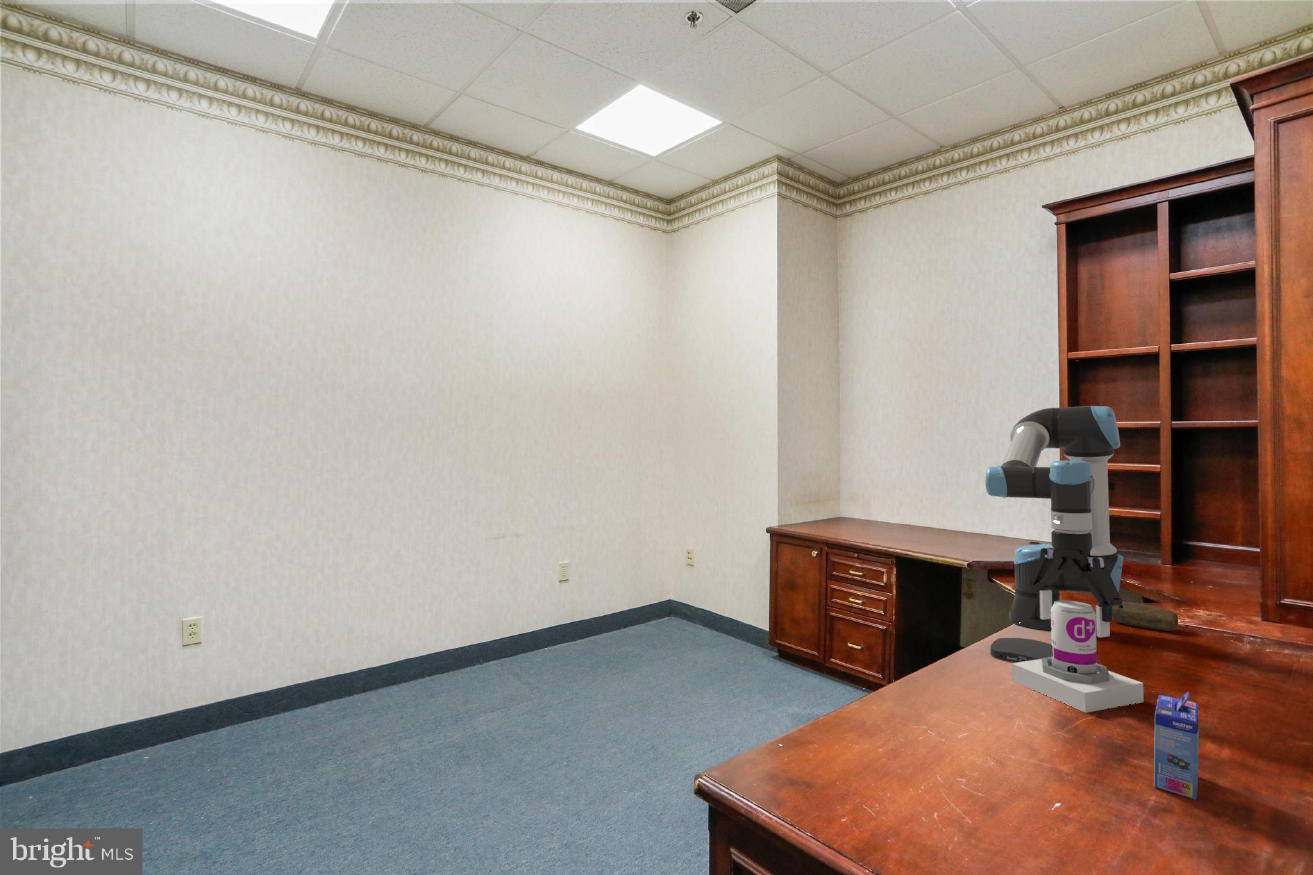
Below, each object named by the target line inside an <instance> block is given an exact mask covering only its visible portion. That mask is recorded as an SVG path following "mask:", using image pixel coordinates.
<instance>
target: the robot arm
mask: <svg viewBox="0 0 1313 875" xmlns="http://www.w3.org/2000/svg"><path fill="white" fill-rule="evenodd" d="M1118 427H1119V426H1118V423H1117V418H1116V414H1115V411H1114V409H1113V408H1111V407H1110V406H1102V405H1100V406H1099V405H1098V406H1097V405H1085V406H1068V407H1067V406H1066V407H1047V408H1043V409H1039V410H1036V411H1034V412H1032V413H1029V414H1028V415H1025V416H1023V418H1021V419H1020V420H1018V421H1017V423H1015V424H1014V426H1013V428H1012V430H1011V432H1010V435H1009V436H1010V444H1009V446H1008V449H1007V450H1006V453H1005V456H1004V458H1003V460H1002V463H1001V465H997V466H989V467H988V468H987V469H986V470H985V480H984V481H985V490H986V493H987V495H989V496H991V497H999V498H1002V499H1003V498H1004V499H1005V498H1014V499H1015V498H1017V499H1018V498H1021V499H1026V498H1027V499H1047V500H1049V499H1050V520H1051V521H1050V522H1051V524H1050V525H1051V526H1050V528H1052V531H1051V532H1050V536H1051V544H1049V543H1048V544H1047V543H1046V544H1045V543H1044V544H1043V543H1042V544H1028V545H1022V546H1019V547H1018V548H1016V549H1015V550H1014V559H1013V564H1014V598H1013V601H1012V603H1011V607H1010V610H1008V619H1009V622H1011V623H1013V624H1014V625H1017V624H1018V626H1021V627H1025V628H1029V629H1035V630H1047V631H1051V608H1052V606H1053V605H1054V602H1055V601H1061V591H1062V592H1069V593H1078V594H1079V593H1080V594H1087V595H1093V597H1094V598H1095V600H1096V601H1097V602H1098V605H1095V613H1096V638H1097V637H1098V638H1106V637H1110V636H1111V635H1110V634H1111V633H1110V632H1111V628H1110V627H1111V624H1110V623H1111V622H1113V621H1114V619H1113V617H1112V616H1113V615H1112V608H1113V606H1114V605H1121V604H1122V601H1123V599H1122V598H1121V596H1120V595H1121V594H1120V593H1119V591H1120V585H1121V580H1122V572H1123V571H1122V569H1123V563H1124V556H1123V555H1121V554H1117V552H1118V550H1117V547H1115V545H1113V544H1112V543H1111V537H1110V536H1111V535H1110V534H1111V533H1110V510H1109V509H1110V506H1109V505H1110V502H1109V477H1108V474H1109V472H1108V460H1110V458H1112V457H1113V456H1114V454H1115V450H1117V449H1119V448H1120V447H1121V441H1120V433H1119V428H1118ZM1045 449H1063V456H1064V457H1066V458H1067V459H1068V460H1054V461H1052V462H1051V463H1050V466H1038V462H1039V459H1040V457H1041V453H1042V451H1044V450H1045ZM1019 622H1021V623H1020V624H1019Z"/></svg>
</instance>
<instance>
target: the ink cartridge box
mask: <svg viewBox="0 0 1313 875" xmlns="http://www.w3.org/2000/svg"><path fill="white" fill-rule="evenodd" d="M1189 699H1190V691H1187V692H1186V693H1185V694H1184V695H1183V696H1182V697H1181V698H1177V697H1172V696H1168V695H1162V694H1159V695H1158V698H1157V700H1156V702H1157V704H1156V706H1155V712H1154V735H1153V736H1154V740H1153V741H1154V743H1153V744H1154V745H1153V747H1154V750H1153V751H1154V753H1153V755H1154V756H1153V757H1154V759H1153V767H1154V768H1153V787H1154V788H1156V789H1160V790H1163V791H1165V792H1169V793H1174V794H1176V795H1178V796H1182V797H1185V798H1188V799H1191V800H1196V799H1197V794H1198V781H1199V752H1200V751H1199V750H1200V749H1199V748H1200V747H1199V746H1200V745H1199V744H1200V742H1199V740H1200V734H1199V733H1200V727H1199V726H1200V725H1199V724H1200V723H1199V703H1197V702H1193V701H1191V700H1189Z"/></svg>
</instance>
